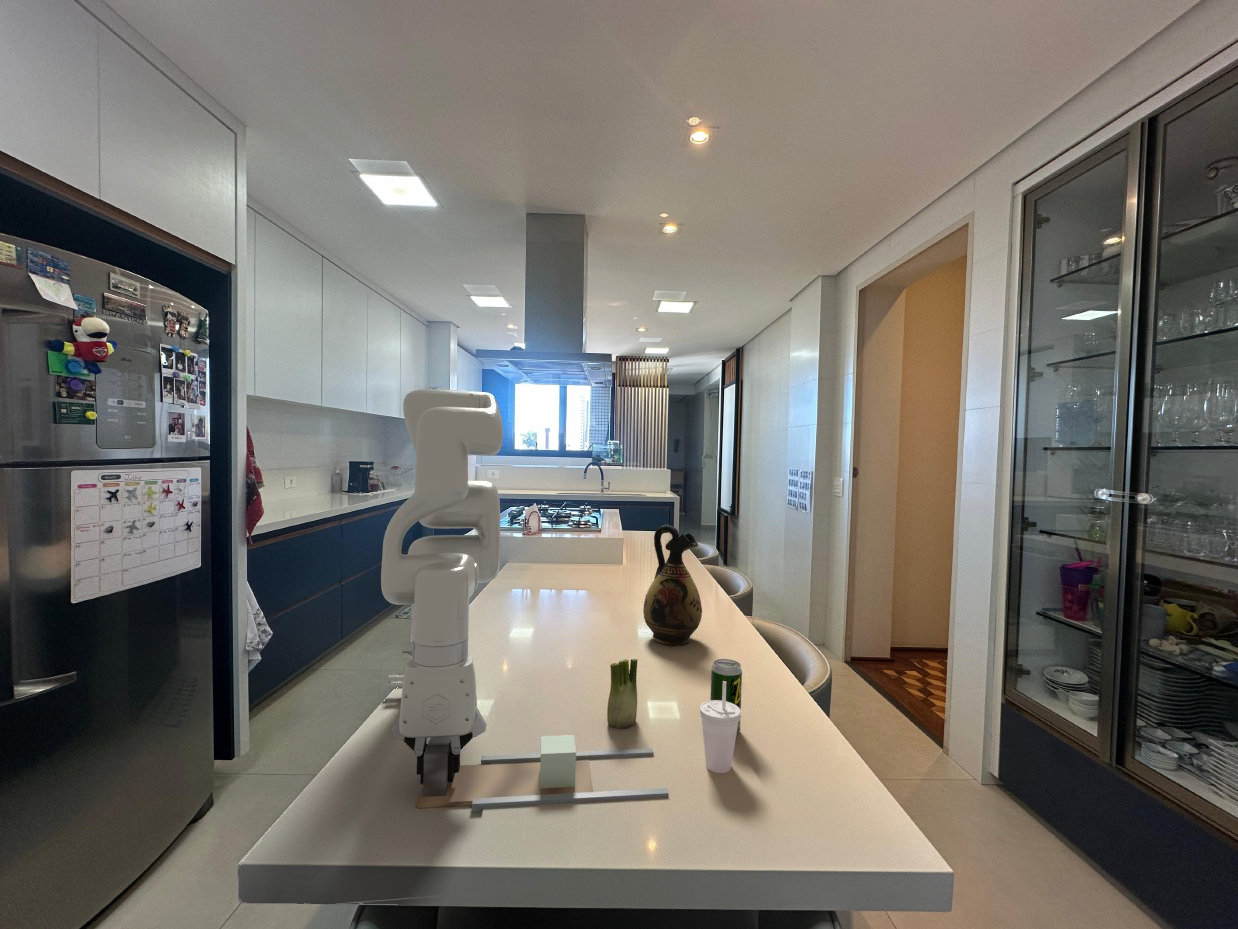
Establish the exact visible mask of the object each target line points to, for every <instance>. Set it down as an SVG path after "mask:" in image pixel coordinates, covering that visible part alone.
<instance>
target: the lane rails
mask: <svg viewBox="0 0 1238 929" xmlns="http://www.w3.org/2000/svg"><path fill="white" fill-rule="evenodd" d="M654 754H655V753H654V749H653V748H649V747H648V748H632V749H627V748H626V749H609V750H607V749H606V750H605V749H604V750H585V751H582V750H581V751H576V760H587V759H609V758H612V759H613V758H632V757H633V758H635V757H652V756H654ZM540 761H541V752H540V753H539V752H538V753H523V754H522V753H518V754H516V753H515V754H497V755H496V754H494V755H492V754H491V755H481V756H480V764H500V763H522V762H540ZM669 795H670V794H669V791H668V788H667V787H663V788H662V787H661V788H643V789H640V788H639V789H627V790H626V789H625V790H606V791H605V790H604V791H593V792H584V793H566V794H548V795H529V796H511V797H492V798H474V799H473V801H472V805H471V813H483V811H484V808H497V807H498V808H499V807H513V806H514V807H515V806H516V807H517V806H531V805H533V806H534V805H535V806H536V805H548V804H566V803H567V804H568V803H587V802H600V801H601V802H602V801H604V802H605V801H618V800H619V801H621V800H637V799H638V800H639V799H640V800H641V799H657V798H669Z"/></svg>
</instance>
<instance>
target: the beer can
mask: <svg viewBox="0 0 1238 929" xmlns="http://www.w3.org/2000/svg"><path fill="white" fill-rule="evenodd" d="M710 669H711V671H710V672H711V673H710V675H711V676H710V700H709V701H711V700H721V701H722V689H723V681H726V701H727V702H730V703H732V704H735V705H736V706H738V707H739V708H740V710H741V711H742V688H743V686H742V683H743V682H742V681H743V669H742V665H741V663H740V662H739V661H737V660H734V659H728V658H718V659H715V660H713V661H712V666H711V668H710ZM741 720H742V718H741V719H740V721H738V728H737V734H736V736H738V735H739V732H740V731H741Z"/></svg>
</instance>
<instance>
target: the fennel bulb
mask: <svg viewBox="0 0 1238 929" xmlns="http://www.w3.org/2000/svg"><path fill="white" fill-rule="evenodd" d="M629 664H630V665H629ZM637 673H638V658H631V659H630V662H629V659H627V658H625V659H622V660H619V661H618V662H612V663H610V690H609V694H608V695H609V696H608V701H607V710H606V711H607V712H606V713H607V714H606V715H607V716H606V717H607V718H606V720H607V723H608V725H609V726H610V727H611V728H615V729H622V730H623V729H629V728H632V727H633V726H634V725H635V723H636V720H637V714H638V713H637V711H638V688H637V687H638V686H637V676H638V674H637Z"/></svg>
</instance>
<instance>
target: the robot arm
mask: <svg viewBox="0 0 1238 929" xmlns="http://www.w3.org/2000/svg"><path fill="white" fill-rule="evenodd" d="M402 406H403V407H402V410H403V418H404V422H405V427H406V430H407V432H408V435H409V437H410V440H411V442H412V445H413V448H414V451H415V475H414V476H415V478H414V480H415V481H414V487H415V488H414V491H413V493H412V494H411V496H410V497H409V498H408V499H407V500H406V501H404V502H403V504H401V506H399V508H398V509H397V510H396V511H395V513H394V514H393V516H392V518H390V521H389V523H388V524H387V528H386V530H385V532H384V536H383V543H382V555H381V556H382V557H381V558H382V560H381V569H380V570H381V572H380V586H381V588H380V589H381V593H382V596H383V597H384V599H385V600H386V601H387V602H388V603H390V604H392V605H398V606H399V605H403V606H404V605H411V612H410V613H411V614H410V615H411V620H410V626H411V627H410V642H408V643H403V645H402V648H401V649H402V654H407V655H410V659H409V661H408V662H407V663H406V667H405V670H404V674H400V675H399V674H388V677H387V680H386V682H387V683H386V685H387V686H390V690H400V689H401V696H400V697H401V698H400V708H399V711H400V712H399V716H398V718H397V720H396V722H395V723H394V725H393V727H392V728H391V730H390V736H391V737H392V738H395V739H397V740H399V741H403V743H404V744H406V746H408V747H409V748H410V750H412V751H413V754H414V756H416V775H417V776H418V775H420V780H419V781H420V782H419V783H420V785H423V777H424V753H425V750H426V747H427V745H428V738H430V737H449V736H451V748H450V752H449V755H448V781H449V782H453V779H454V775H455V773H459V770H460V765H461V751H462V749H464V747H466V745H467V744H469V743H470V742H471V741H472V739H474V738H477V737H479V736H480V735H482V734H484V733H485V732H486V730H487V723H486V721H485V718H484V717H483V716H482V714H481V711H480V710H479V708H478V706H477V705H478V704H477V701H478V700H477V698H478V697H477V682H476V671H475V665H474V660H473V656H472V655H470V654H469V631H470V630H469V628H470V627H469V624H470V623H469V622H470V599H471V597H472V596H473V594H474V593H475V591H477V588H478V586H479V584H481V583H489V582H491V581H494V580H495V579H497V577H498V576H499V573H500V568H501V566H500V565H501V502H500V500H501V499H500V494H499V490H498V489H497V487H496V486H495V485H494V483H492V482H489V481H486V480H469V456H484V457H485V456H489V457H490V456H492V457H493V456H495V455H497V454H498V453H499V452H500V451H501V448H502V445H503V441H504V440H503V439H504V427H503V426H504V425H503V420H502V419H503V418H502V415H501V412H500V411H501V410H500V408H499V405H498V402H497V399H496V398H495V396H494V395H493V394H491V393H489V392H484V391H483V392H482V391H470V390H456V389H455V390H453V389H442V388H424V389H423V388H421V389H415V390H413V391H410V392H408V393H407V394H406V395H405V397H404V399H403V404H402ZM418 522H419V524H421V525H422V526H424V527H425V528H429V529H474V530H475V531H476V532H477V534H458V535H457V534H445V535H444V534H442V535H441V534H439V535H428V536H423V537H420V538H418V539H416V540H414V541H413V542H412V543H411V544H410V546H409V548H408V551H407V554H403V553H402V546H403V542H404V539H405V536H406V533H407V532H408V531H409V530H410V529H411V527H412V526H413V525H415V524H417V523H418ZM397 687H398V688H397ZM396 688H397V689H396Z"/></svg>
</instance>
